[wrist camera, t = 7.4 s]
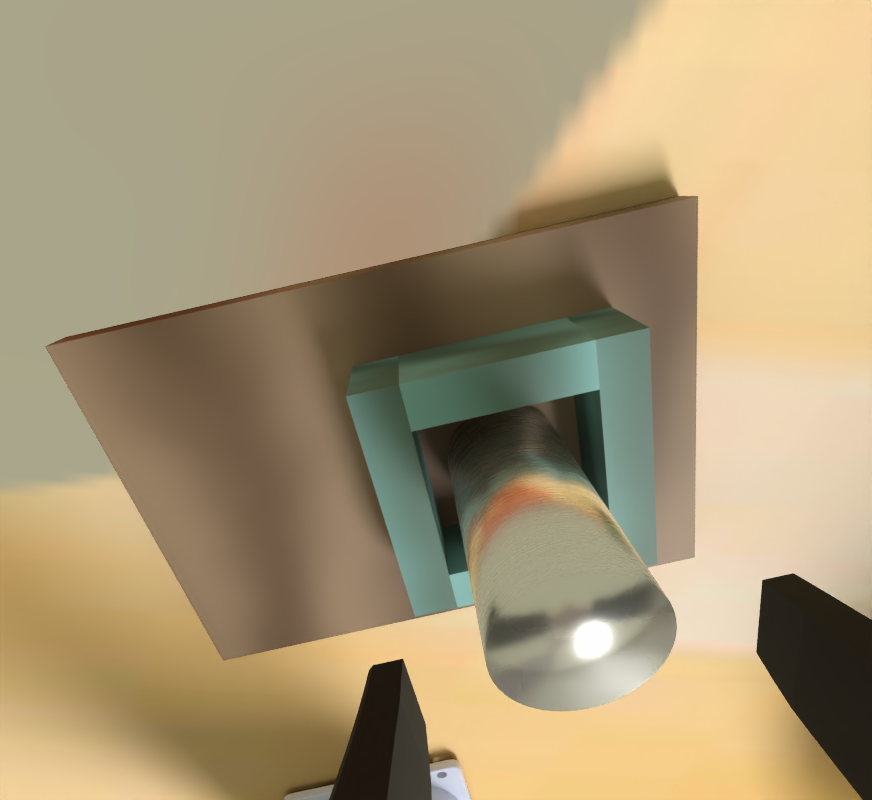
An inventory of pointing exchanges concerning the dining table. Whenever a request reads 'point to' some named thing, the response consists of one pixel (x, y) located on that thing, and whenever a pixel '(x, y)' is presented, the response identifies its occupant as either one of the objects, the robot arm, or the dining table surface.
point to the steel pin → (551, 569)
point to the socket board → (396, 417)
